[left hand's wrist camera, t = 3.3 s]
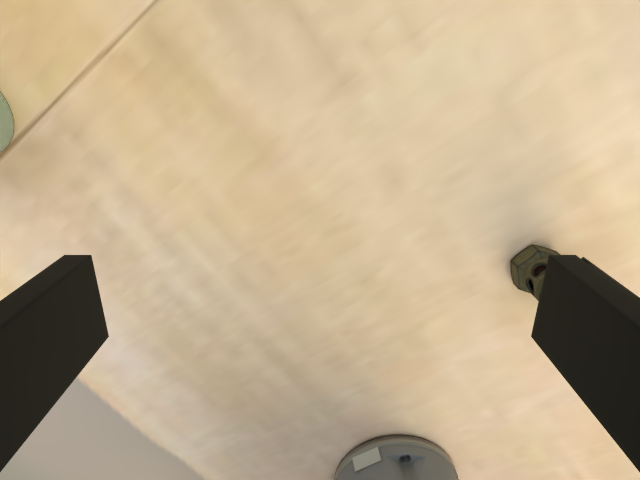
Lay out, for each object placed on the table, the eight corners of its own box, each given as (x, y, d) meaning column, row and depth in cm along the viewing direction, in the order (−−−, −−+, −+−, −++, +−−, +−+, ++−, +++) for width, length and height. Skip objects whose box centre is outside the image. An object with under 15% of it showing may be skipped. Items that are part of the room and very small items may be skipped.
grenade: (525, 309, 45) (619, 417, 31) (492, 273, 43) (575, 369, 29) (599, 255, 42) (737, 345, 28) (567, 215, 41) (697, 289, 27)
